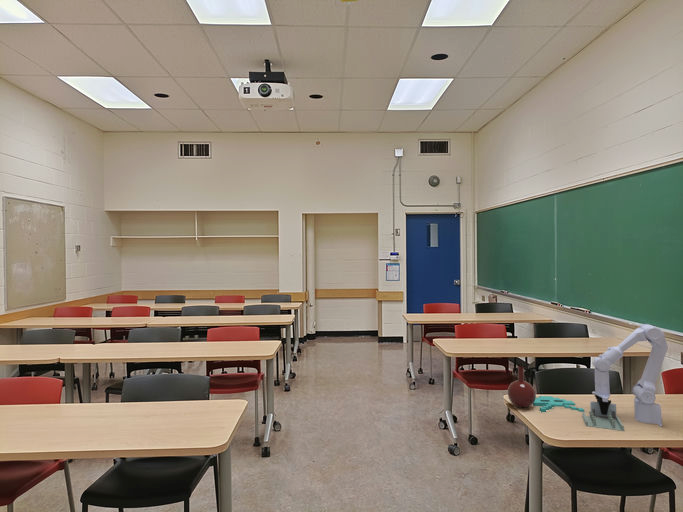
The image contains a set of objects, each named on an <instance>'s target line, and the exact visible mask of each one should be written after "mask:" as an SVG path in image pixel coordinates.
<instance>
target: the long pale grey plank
mask: <svg viewBox="0 0 683 512" xmlns="http://www.w3.org/2000/svg"><path fill="white" fill-rule="evenodd" d="M589 403H590V405H589V406H590V409H589V412H590V411H592V409H595V415H597V416H605V417H608V413H610V414H611V416H612V417H613V412H612V411H615V414H616V415H617V404H616V403H612V402H611V404H610V405H609V408H608V413H607V415H602V414H601V411H600V406H599V403H598V402H597V401H595V400H594V401H592V400H590V401H589Z"/></svg>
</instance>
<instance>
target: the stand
mask: <svg viewBox="0 0 683 512" xmlns="http://www.w3.org/2000/svg"><path fill="white" fill-rule="evenodd" d="M592 412H593V414H594V416H595V417H598V418H606V419H608V417H605V416H597V415H595V409H592ZM612 412H613V417H612V418H613V419H614V420H616V416H617V413H616V414H615V411H612ZM588 413H589V415H590V411H588Z"/></svg>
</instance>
